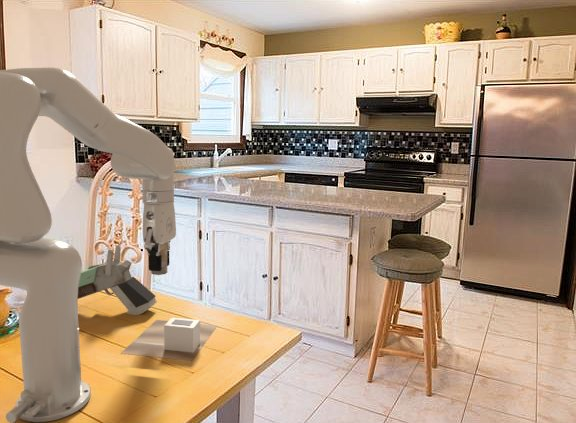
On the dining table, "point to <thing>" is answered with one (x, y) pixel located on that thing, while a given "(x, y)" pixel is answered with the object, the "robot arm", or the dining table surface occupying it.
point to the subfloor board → (154, 343)
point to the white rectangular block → (182, 334)
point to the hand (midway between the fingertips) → (159, 267)
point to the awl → (164, 259)
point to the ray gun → (116, 283)
